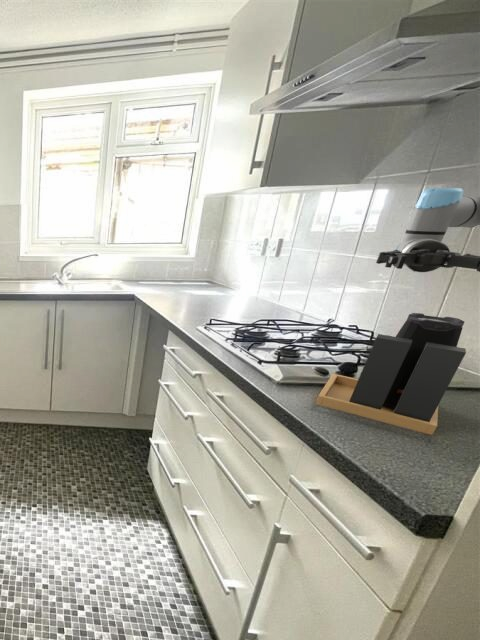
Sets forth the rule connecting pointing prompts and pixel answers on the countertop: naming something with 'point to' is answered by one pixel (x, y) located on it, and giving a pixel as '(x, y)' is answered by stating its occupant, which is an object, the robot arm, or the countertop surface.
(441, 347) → the charcoal box
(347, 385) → the oak tray
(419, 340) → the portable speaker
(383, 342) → the charcoal box
